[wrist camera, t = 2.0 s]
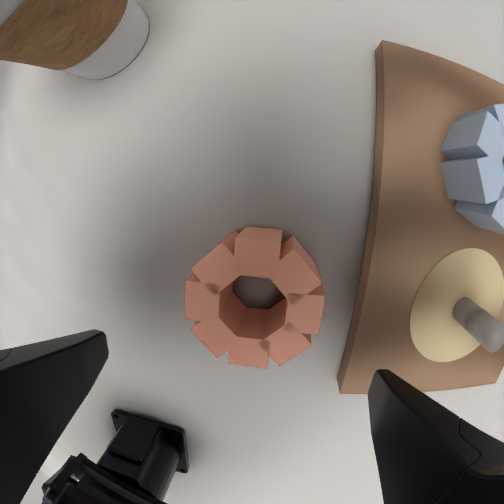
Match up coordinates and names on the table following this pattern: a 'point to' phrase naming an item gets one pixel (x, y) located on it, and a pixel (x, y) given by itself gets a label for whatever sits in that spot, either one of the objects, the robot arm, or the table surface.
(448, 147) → the gear
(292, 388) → the table surface
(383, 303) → the gear board
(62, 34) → the coffee cup
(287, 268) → the gear
